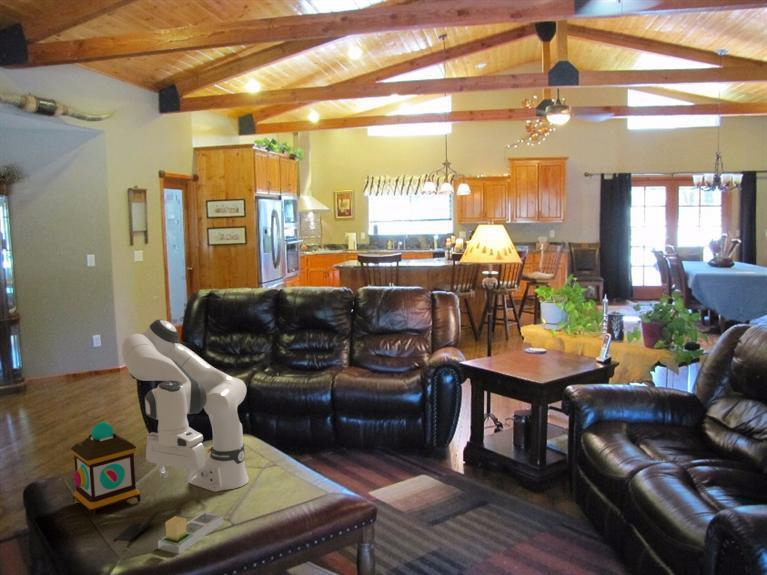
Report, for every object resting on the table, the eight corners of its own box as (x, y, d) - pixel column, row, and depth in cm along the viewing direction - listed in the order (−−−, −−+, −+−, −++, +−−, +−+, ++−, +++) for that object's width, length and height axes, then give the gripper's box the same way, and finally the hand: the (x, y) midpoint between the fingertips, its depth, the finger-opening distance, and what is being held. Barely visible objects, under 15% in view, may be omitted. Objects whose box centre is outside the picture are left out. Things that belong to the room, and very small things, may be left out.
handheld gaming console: (126, 521, 205) (142, 499, 203) (145, 532, 206) (161, 511, 204) (111, 543, 194) (127, 521, 192) (130, 555, 195) (147, 533, 193)
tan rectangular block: (166, 547, 190) (165, 522, 189) (176, 540, 194) (175, 516, 193) (177, 549, 188) (176, 524, 187) (187, 543, 192) (185, 518, 191)
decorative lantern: (124, 487, 236) (119, 410, 233) (146, 503, 222) (141, 421, 219) (67, 504, 222) (61, 422, 219) (88, 522, 208) (81, 435, 205)
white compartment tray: (158, 550, 189) (157, 540, 189) (203, 520, 208) (203, 510, 208) (179, 555, 186) (178, 545, 185) (223, 524, 205) (223, 514, 205)
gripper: (139, 434, 189) (142, 478, 190) (193, 442, 181) (195, 488, 182) (154, 428, 195) (157, 470, 196) (207, 435, 187) (209, 480, 188)
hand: (176, 479), depth 189 cm, fingers open, 8 cm apart
